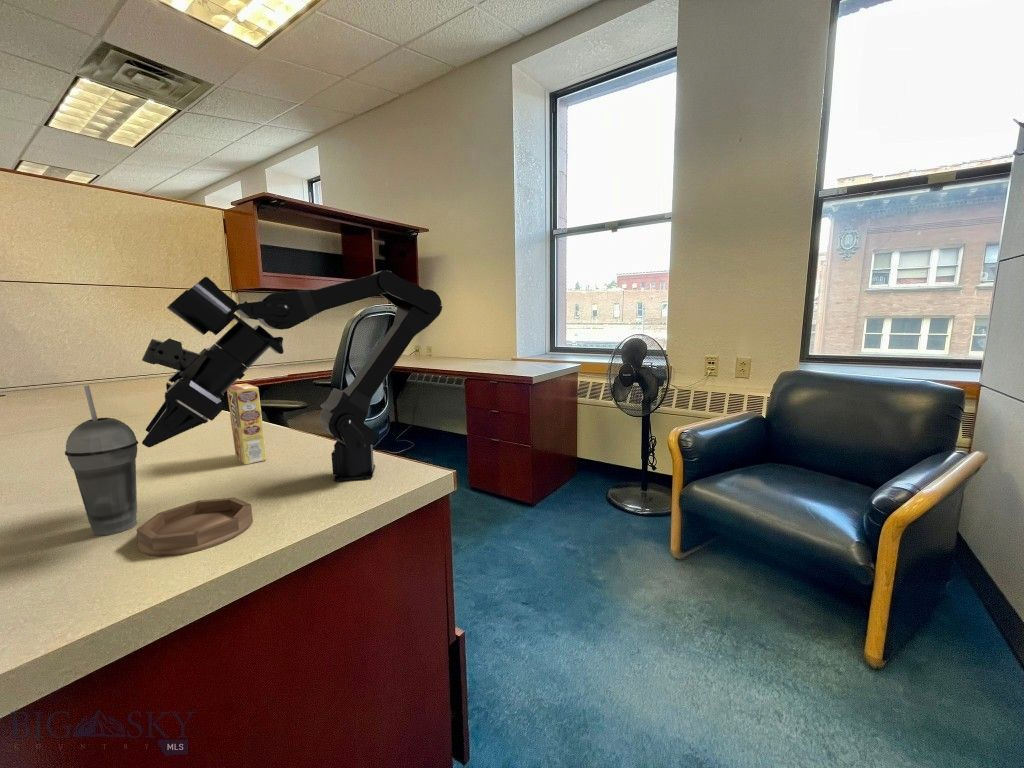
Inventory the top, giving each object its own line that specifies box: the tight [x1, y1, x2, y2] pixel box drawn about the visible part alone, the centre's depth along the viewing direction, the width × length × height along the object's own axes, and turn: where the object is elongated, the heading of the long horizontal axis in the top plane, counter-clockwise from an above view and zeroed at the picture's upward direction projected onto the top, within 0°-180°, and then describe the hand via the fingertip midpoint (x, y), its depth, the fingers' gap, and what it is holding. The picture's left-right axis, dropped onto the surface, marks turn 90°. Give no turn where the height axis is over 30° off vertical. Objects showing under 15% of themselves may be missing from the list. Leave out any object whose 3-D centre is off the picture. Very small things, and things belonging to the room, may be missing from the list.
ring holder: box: [136, 497, 254, 557], centre depth 59 cm, size 13×13×2 cm
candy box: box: [226, 383, 267, 465], centre depth 90 cm, size 9×4×15 cm, turn 44°
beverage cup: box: [64, 385, 139, 537], centre depth 59 cm, size 7×7×20 cm
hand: (147, 438), depth 61 cm, fingers open, 9 cm apart
